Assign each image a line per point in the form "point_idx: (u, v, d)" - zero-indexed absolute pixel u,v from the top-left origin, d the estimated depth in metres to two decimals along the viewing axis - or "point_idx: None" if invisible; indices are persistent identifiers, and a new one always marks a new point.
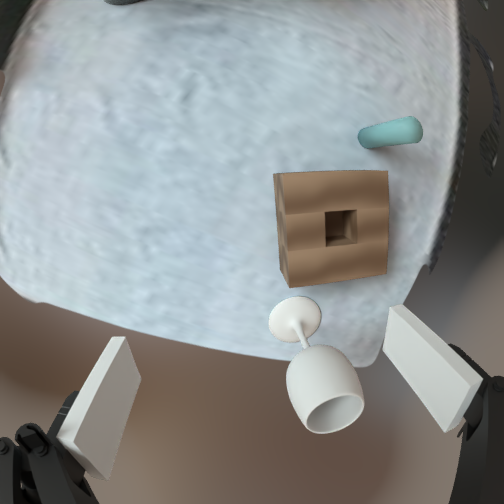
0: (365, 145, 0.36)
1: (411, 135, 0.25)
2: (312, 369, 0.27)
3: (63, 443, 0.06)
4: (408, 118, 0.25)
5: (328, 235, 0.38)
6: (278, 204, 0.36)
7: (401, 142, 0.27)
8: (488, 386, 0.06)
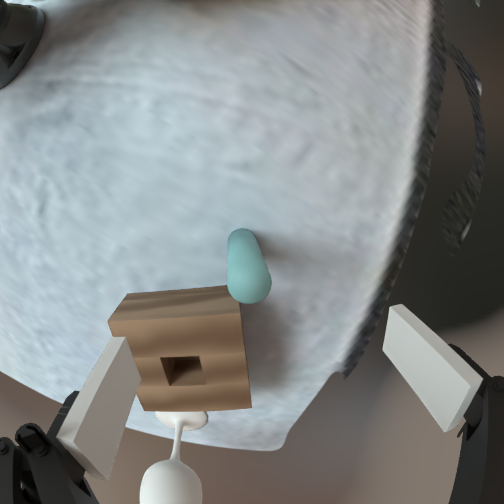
0: None
1: (245, 293, 0.20)
2: (149, 489, 0.22)
3: (63, 443, 0.06)
4: (240, 267, 0.20)
5: (191, 359, 0.33)
6: None
7: None
8: (488, 386, 0.06)
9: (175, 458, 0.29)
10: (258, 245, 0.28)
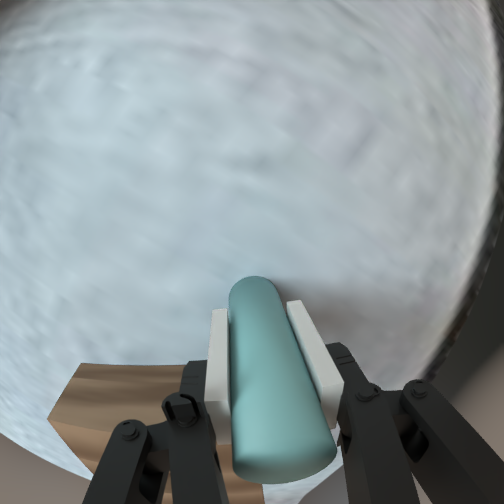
0: None
1: (275, 475, 0.07)
2: None
3: (210, 407, 0.08)
4: (267, 447, 0.06)
5: None
6: None
7: None
8: (349, 398, 0.07)
9: None
10: None
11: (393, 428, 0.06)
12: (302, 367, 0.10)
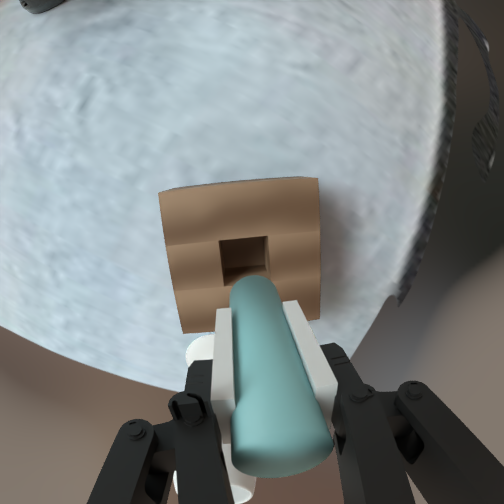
0: None
1: (273, 468, 0.07)
2: None
3: (216, 406, 0.08)
4: (264, 439, 0.06)
5: (244, 265, 0.30)
6: None
7: None
8: (343, 399, 0.07)
9: None
10: None
11: (387, 429, 0.06)
12: (300, 363, 0.10)
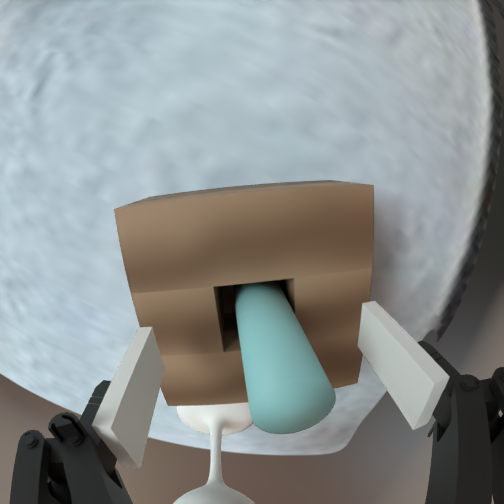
0: None
1: (285, 422, 0.09)
2: None
3: (98, 431, 0.06)
4: (279, 389, 0.08)
5: None
6: None
7: None
8: (455, 386, 0.07)
9: (217, 482, 0.17)
10: None
11: (485, 418, 0.05)
12: (302, 332, 0.12)
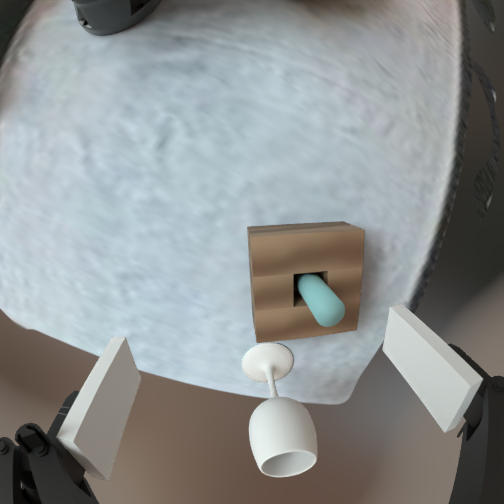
0: None
1: (327, 319, 0.27)
2: (269, 424, 0.27)
3: (63, 443, 0.06)
4: (326, 301, 0.26)
5: None
6: None
7: None
8: (488, 386, 0.06)
9: None
10: None
11: None
12: None
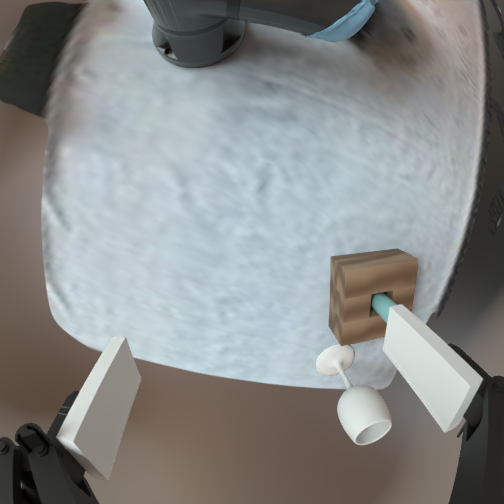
0: None
1: None
2: (359, 404, 0.36)
3: (63, 443, 0.06)
4: None
5: None
6: (335, 283, 0.45)
7: None
8: (488, 386, 0.06)
9: (353, 386, 0.44)
10: None
11: None
12: None
